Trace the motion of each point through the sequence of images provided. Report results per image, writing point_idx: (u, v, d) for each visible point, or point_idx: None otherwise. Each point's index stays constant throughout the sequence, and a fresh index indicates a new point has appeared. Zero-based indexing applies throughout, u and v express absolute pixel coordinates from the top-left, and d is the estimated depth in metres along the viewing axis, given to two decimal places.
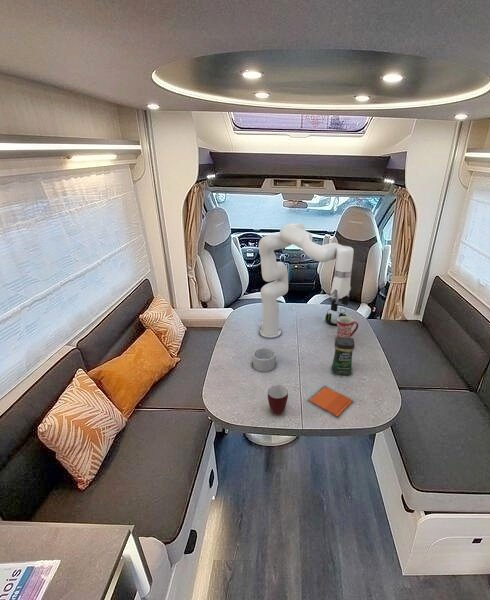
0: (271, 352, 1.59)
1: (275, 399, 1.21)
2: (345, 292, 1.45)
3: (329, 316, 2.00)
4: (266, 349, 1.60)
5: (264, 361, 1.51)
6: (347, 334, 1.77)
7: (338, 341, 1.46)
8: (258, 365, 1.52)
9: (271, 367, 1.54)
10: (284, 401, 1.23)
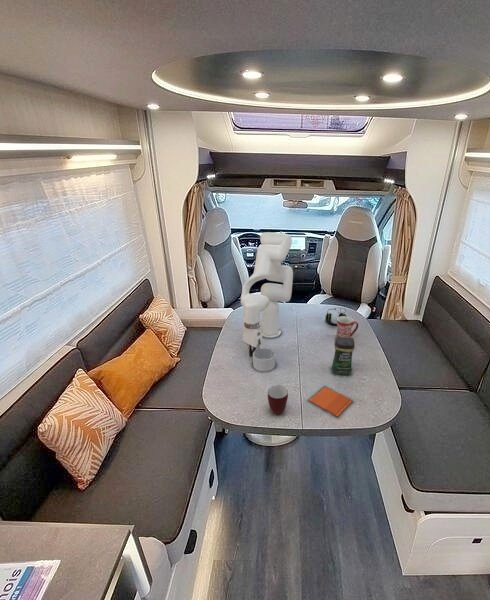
0: (271, 352, 1.59)
1: (275, 399, 1.21)
2: (249, 341, 1.57)
3: (329, 316, 2.00)
4: (266, 349, 1.60)
5: (264, 361, 1.51)
6: (347, 334, 1.77)
7: (338, 341, 1.46)
8: (258, 365, 1.52)
9: (271, 367, 1.54)
10: (284, 401, 1.23)
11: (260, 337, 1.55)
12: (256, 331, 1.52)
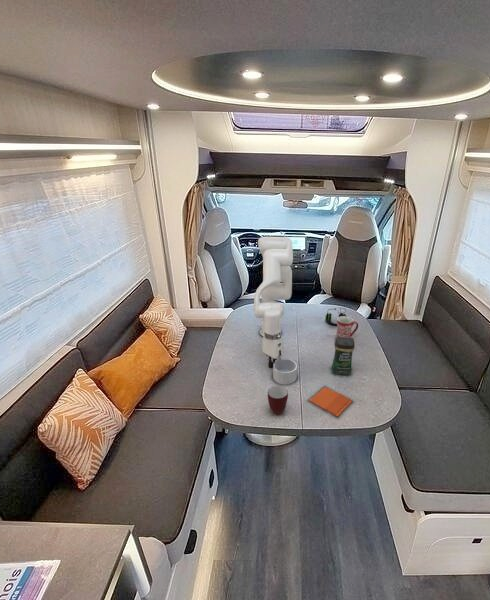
0: (292, 363, 1.51)
1: (275, 399, 1.21)
2: (268, 352, 1.48)
3: (329, 316, 2.00)
4: (287, 361, 1.52)
5: (286, 374, 1.42)
6: (347, 334, 1.77)
7: (338, 341, 1.46)
8: (279, 378, 1.44)
9: (293, 380, 1.45)
10: (284, 401, 1.23)
11: (281, 348, 1.46)
12: (277, 342, 1.44)
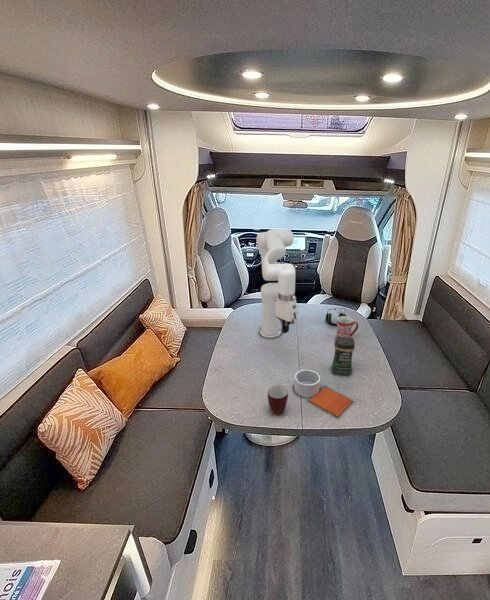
0: (314, 375, 1.43)
1: (275, 399, 1.21)
2: (282, 315, 1.41)
3: (329, 316, 2.00)
4: (309, 372, 1.44)
5: (309, 386, 1.34)
6: (347, 334, 1.77)
7: (338, 341, 1.46)
8: (302, 390, 1.36)
9: (316, 392, 1.38)
10: (284, 401, 1.23)
11: (295, 310, 1.40)
12: (292, 303, 1.37)
